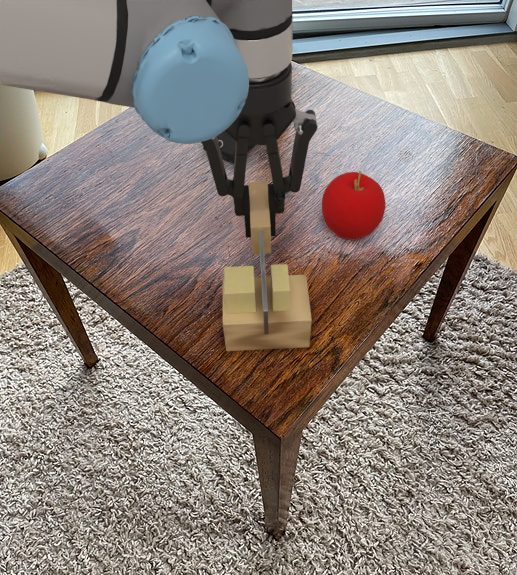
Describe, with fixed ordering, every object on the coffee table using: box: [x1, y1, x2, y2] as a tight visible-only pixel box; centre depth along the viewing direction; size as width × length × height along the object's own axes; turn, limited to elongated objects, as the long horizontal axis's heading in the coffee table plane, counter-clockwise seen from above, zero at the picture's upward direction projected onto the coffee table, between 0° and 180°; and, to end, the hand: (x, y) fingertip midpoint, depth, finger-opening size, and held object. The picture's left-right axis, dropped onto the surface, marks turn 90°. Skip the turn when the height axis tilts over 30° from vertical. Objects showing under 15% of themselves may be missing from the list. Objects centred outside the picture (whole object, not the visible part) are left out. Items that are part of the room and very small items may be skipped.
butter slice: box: [270, 263, 290, 311], centre depth 68 cm, size 2×4×4 cm, turn 2°
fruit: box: [321, 170, 386, 240], centre depth 81 cm, size 9×9×10 cm
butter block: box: [223, 265, 256, 314], centre depth 68 cm, size 4×4×4 cm
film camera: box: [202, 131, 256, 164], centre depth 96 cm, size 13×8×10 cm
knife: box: [248, 180, 272, 334], centre depth 69 cm, size 20×2×5 cm, turn 2°
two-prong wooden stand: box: [222, 274, 313, 352], centre depth 72 cm, size 10×7×6 cm, turn 92°
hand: (260, 229), depth 74 cm, fingers closed on knife, 2 cm apart
